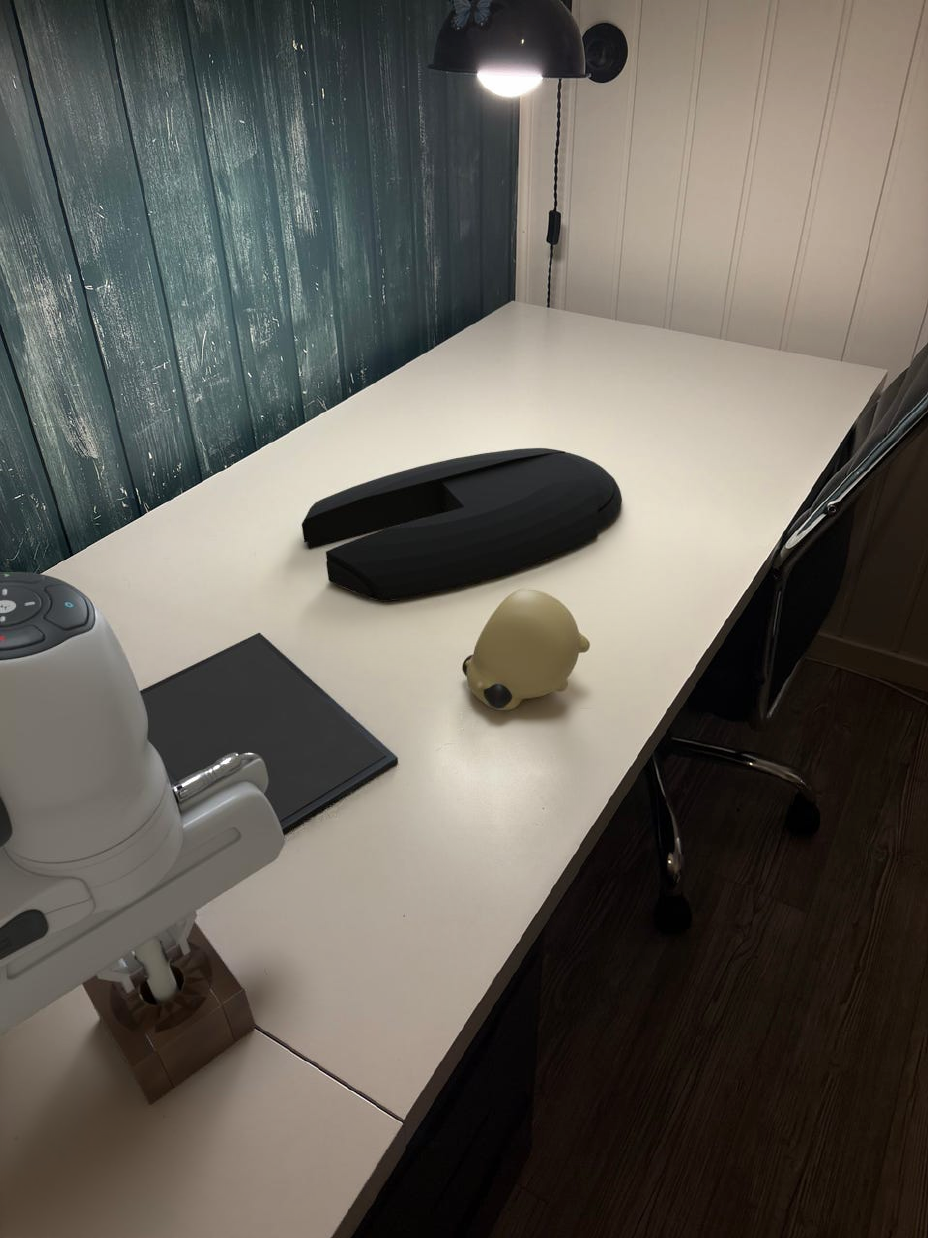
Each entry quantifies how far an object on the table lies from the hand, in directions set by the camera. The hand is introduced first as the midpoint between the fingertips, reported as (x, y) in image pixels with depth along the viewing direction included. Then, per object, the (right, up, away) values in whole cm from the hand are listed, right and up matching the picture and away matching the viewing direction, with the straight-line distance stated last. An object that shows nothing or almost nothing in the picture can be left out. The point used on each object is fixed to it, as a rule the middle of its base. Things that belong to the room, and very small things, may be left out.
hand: (154, 965), depth 60 cm
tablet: (0, +12, +26) cm, 29 cm away
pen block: (0, -6, +4) cm, 7 cm away
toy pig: (+26, +16, +31) cm, 44 cm away
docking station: (+21, +35, +55) cm, 68 cm away
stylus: (0, -5, +4) cm, 6 cm away
